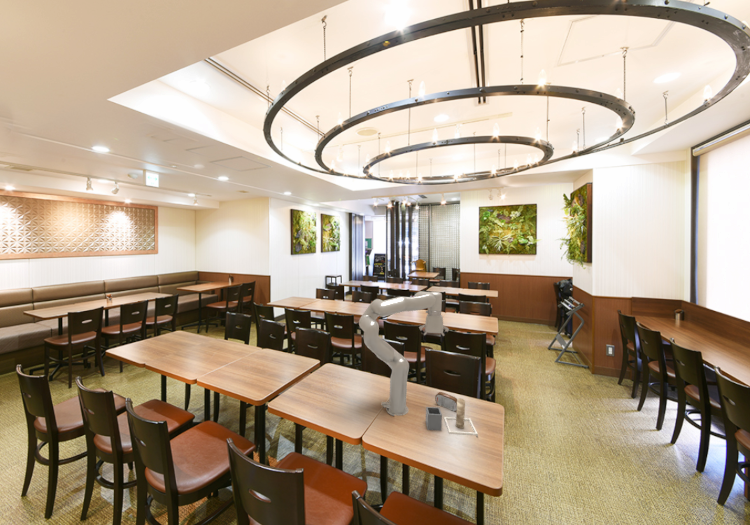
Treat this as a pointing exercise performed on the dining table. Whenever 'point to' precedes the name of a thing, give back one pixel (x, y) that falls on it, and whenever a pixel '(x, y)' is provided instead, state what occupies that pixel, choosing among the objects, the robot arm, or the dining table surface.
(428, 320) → the robot arm
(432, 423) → the holder
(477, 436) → the white square frame
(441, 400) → the tin
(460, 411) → the dowel
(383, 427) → the dining table surface
